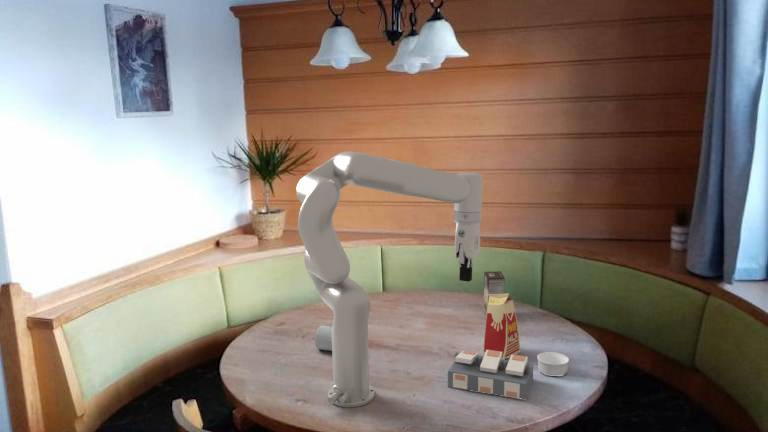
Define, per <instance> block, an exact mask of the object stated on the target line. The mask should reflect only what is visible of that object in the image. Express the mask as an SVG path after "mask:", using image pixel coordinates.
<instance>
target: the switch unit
mask: <svg viewBox="0 0 768 432" xmlns="http://www.w3.org/2000/svg"><path fill="white" fill-rule="evenodd" d="M458 354H459V352H455V354H454V358H455V357H456V356H457V355H458ZM483 357H484V355H478V356H476V357H475V361H473V362H472V363H471V364H467V363H461V362H455V361H454V362H453V363H452V365H451V366H450V368H449V369H448V370H447V387H448V388H451V387H452V388H451V389H456V388H457V389H458V390H462V389H464V390H463V391H467V390H473V391H479V392H485V393H490V394H497V395H503V396H507V397H514V398H522V399H525V398H526V399H527V397H528V394H529V392H528V390H529V391H530V389H529V388H531V386H532V383H533V381H532V379H533V380H534V363H528V362H527V364H526V367H525V370H524V373H523V376H519V375H512V374H506V367H507V364H508V362H509V359H506V360H503V359H501V361H500V364H499V367H498V370H497V373H492V372H486V371H480V365H481V363H482V360H483ZM531 382H532V383H531ZM530 385H531V386H530ZM473 391H472V392H473ZM479 392H478V393H479ZM527 393H528V394H527ZM490 394H489V395H490ZM526 396H527V397H526ZM507 397H506V398H507Z"/></svg>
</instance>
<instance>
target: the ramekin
mask: <svg viewBox="0 0 768 432" xmlns="http://www.w3.org/2000/svg"><path fill="white" fill-rule="evenodd" d="M536 357H537V364H538V365H537V366H538V368H537V369H538V371H539V372H540V371H541V372H542V373H545V374H549V375H562V374H565V373H566V372H567V373H568V368H569V367H568V366H569V363H570V358H569V357H568V356H567V355H565V354H563V353H560V352H555V351H545V352H540V353H539V354H537V356H536ZM542 373H541V374H542ZM567 373H566V374H567Z"/></svg>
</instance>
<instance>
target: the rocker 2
mask: <svg viewBox="0 0 768 432" xmlns="http://www.w3.org/2000/svg"><path fill="white" fill-rule="evenodd" d="M508 360H509V362H508V364H507V367H506V374H512V375H519V376H523V373H524V370H525V367H526V364H527V363H528V356H525V355H520V354H519V355H518V354H516V355H511V357H510V358H508Z"/></svg>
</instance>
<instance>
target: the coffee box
mask: <svg viewBox="0 0 768 432" xmlns="http://www.w3.org/2000/svg"><path fill="white" fill-rule="evenodd" d="M483 274H484V278H483V279H484V280H483V282H484V283H483V313H484V315H486V316H487V308H488V302H489V297H490V296H489V295H488V294H505V290H506V289H505V287H506V283H505V282H506V278H505V276H504V274H503V272H502V271H500V270H499V271H484V273H483ZM486 316H485V317H486Z"/></svg>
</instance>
